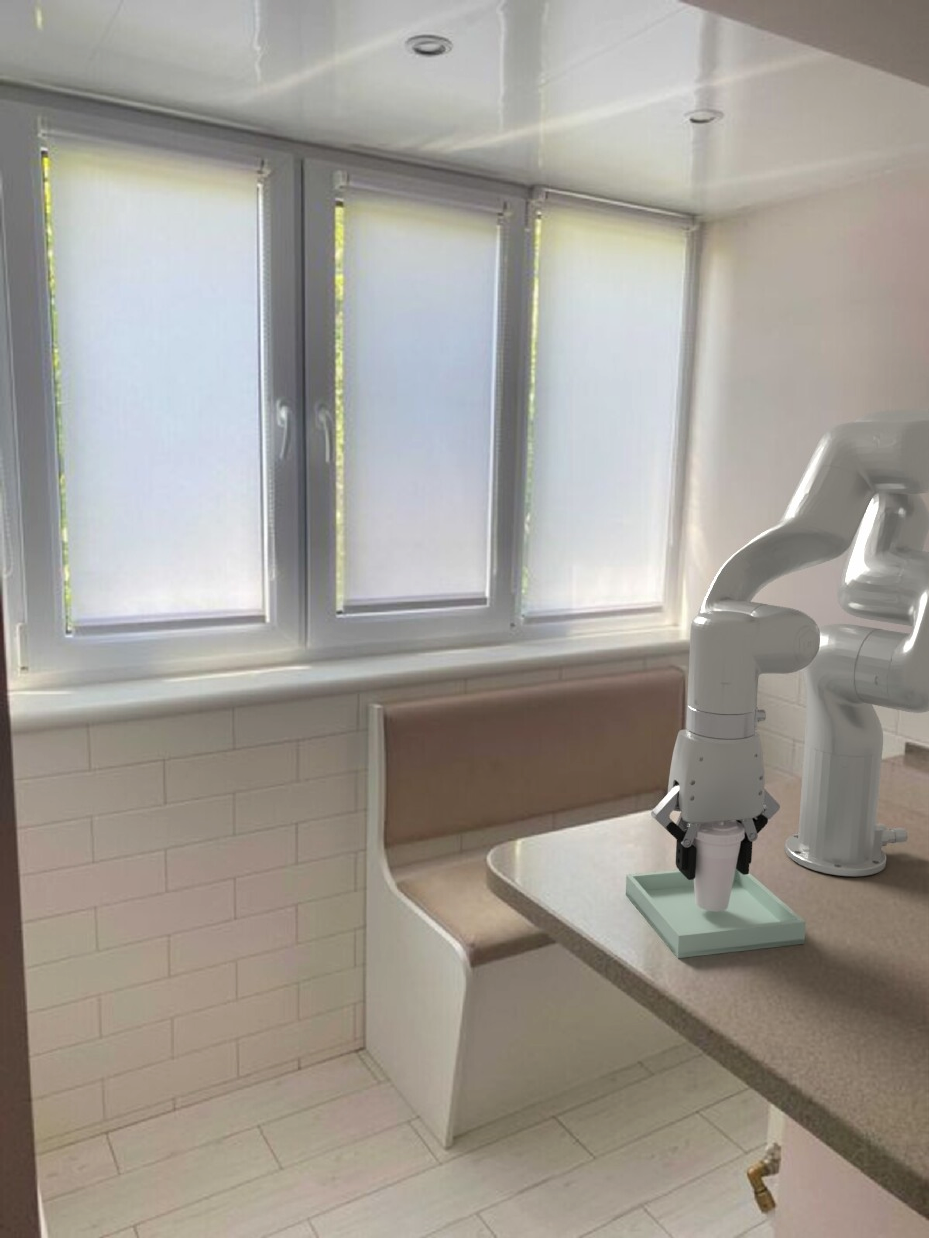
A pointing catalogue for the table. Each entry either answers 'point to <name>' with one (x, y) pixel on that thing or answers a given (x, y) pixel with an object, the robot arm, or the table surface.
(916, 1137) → the table surface
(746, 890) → the tray
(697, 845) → the smoothie
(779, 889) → the table surface
